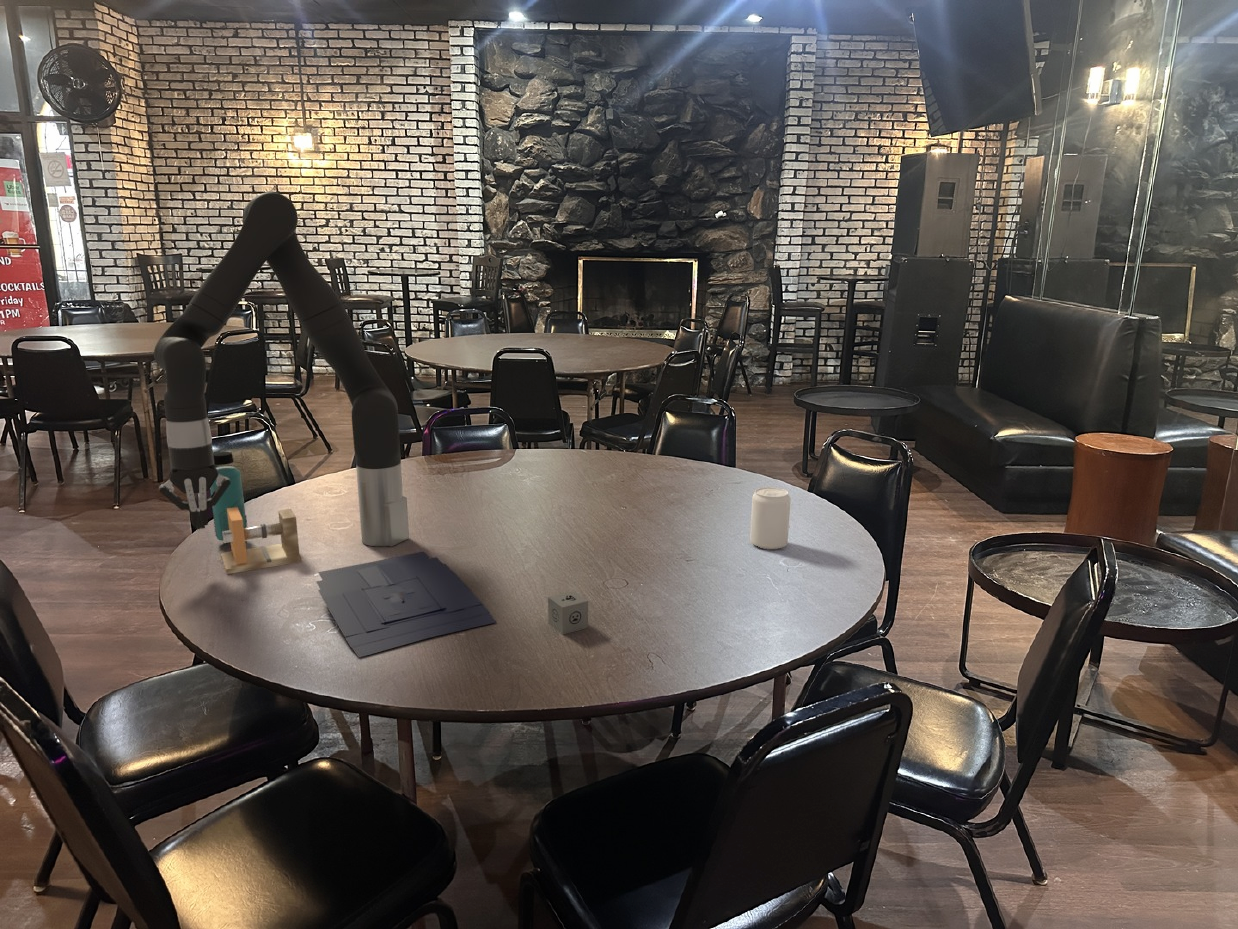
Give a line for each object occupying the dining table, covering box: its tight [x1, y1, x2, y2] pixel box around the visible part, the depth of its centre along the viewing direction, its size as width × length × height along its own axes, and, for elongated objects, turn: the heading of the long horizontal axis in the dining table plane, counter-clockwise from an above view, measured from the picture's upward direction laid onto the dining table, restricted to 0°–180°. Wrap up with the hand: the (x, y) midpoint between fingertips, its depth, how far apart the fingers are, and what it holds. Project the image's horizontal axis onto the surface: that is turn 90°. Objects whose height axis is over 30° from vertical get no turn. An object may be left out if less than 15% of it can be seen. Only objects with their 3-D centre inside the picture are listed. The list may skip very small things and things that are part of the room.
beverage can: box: [749, 486, 791, 550], centre depth 182 cm, size 8×8×12 cm
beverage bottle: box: [209, 451, 248, 542], centre depth 179 cm, size 6×7×20 cm
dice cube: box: [547, 590, 589, 636], centre depth 143 cm, size 5×5×5 cm
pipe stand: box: [220, 508, 303, 575], centre depth 171 cm, size 14×10×9 cm
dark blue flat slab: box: [315, 551, 497, 658], centre depth 150 cm, size 24×30×4 cm
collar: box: [227, 507, 247, 564], centre depth 168 cm, size 2×9×9 cm, turn 30°
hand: (200, 527), depth 165 cm, fingers closed
